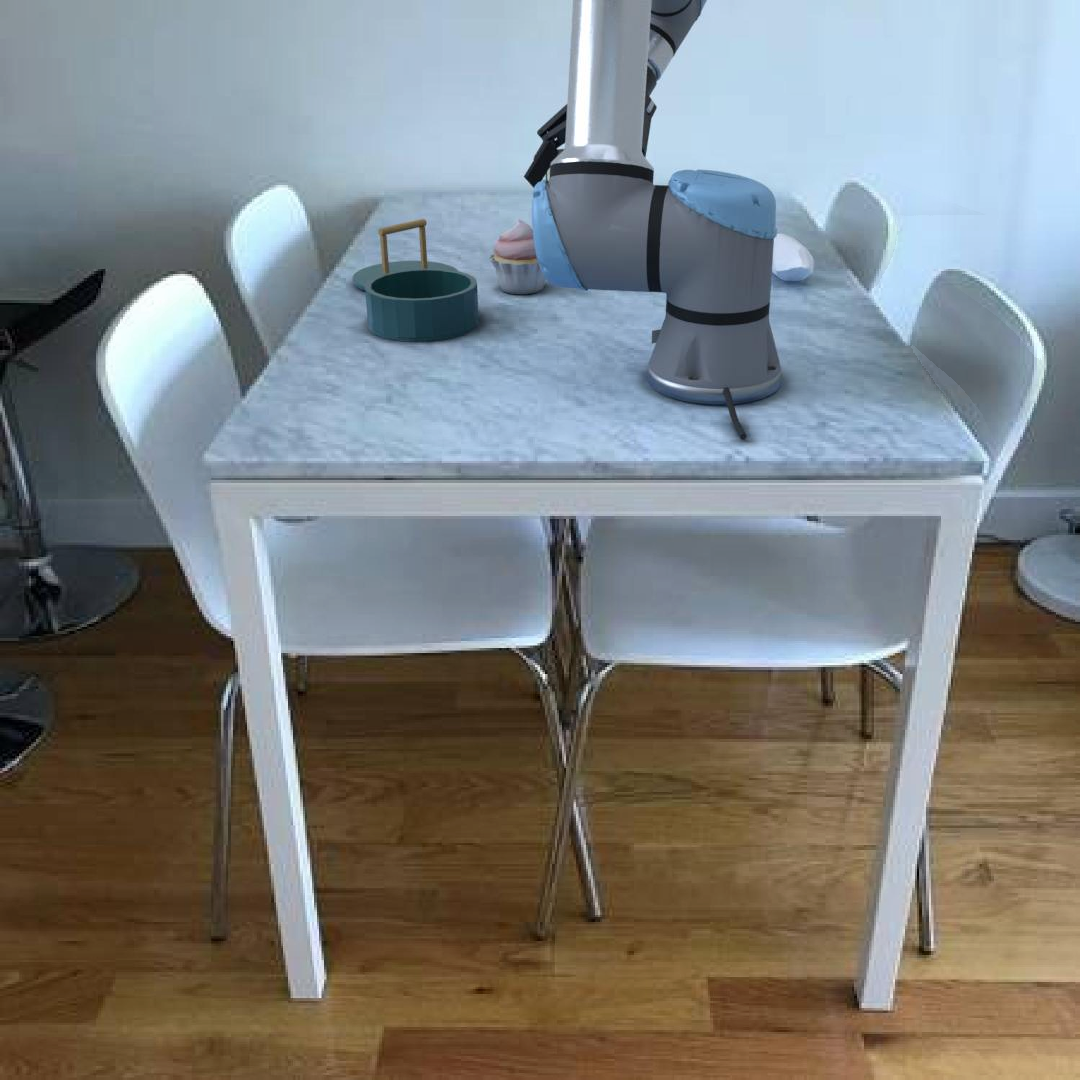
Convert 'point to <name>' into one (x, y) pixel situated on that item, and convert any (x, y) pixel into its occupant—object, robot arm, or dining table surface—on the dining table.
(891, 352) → the dining table surface
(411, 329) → the tin
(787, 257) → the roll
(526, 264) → the cupcake
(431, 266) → the tin lid
